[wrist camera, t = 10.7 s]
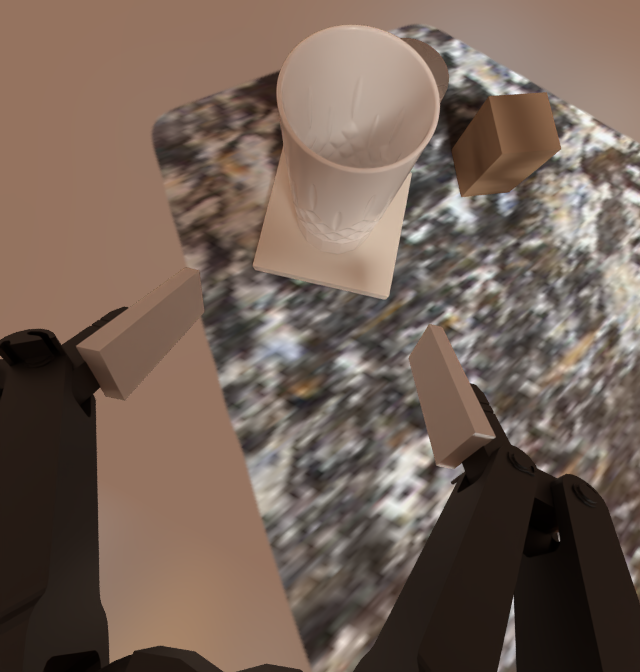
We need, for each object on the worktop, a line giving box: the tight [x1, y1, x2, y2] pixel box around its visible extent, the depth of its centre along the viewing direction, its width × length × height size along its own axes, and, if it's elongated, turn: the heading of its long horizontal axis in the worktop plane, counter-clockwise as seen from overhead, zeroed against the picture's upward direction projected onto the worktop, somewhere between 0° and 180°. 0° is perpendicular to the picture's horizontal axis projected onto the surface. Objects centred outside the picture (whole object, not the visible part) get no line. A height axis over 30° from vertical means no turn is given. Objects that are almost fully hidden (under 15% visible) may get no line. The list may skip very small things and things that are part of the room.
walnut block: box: [451, 92, 561, 197], centre depth 22 cm, size 5×5×5 cm
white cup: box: [276, 25, 440, 254], centre depth 16 cm, size 8×8×10 cm
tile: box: [253, 145, 412, 300], centre depth 22 cm, size 12×12×1 cm
